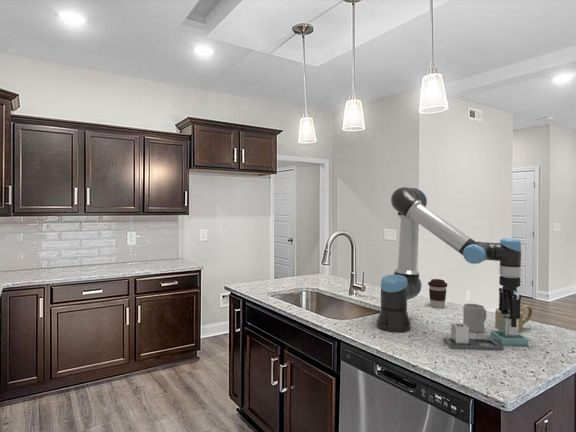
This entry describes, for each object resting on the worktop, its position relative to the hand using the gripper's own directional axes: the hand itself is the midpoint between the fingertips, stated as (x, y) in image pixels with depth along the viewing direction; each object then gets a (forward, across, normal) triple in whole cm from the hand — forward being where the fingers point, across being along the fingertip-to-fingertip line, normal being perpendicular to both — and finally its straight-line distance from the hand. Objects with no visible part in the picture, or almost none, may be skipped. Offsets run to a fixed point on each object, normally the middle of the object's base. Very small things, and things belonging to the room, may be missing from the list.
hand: (508, 331), depth 158 cm
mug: (+4, +15, +7) cm, 17 cm away
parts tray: (+4, 0, 0) cm, 4 cm away
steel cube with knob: (+2, 0, 0) cm, 2 cm away
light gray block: (+4, -6, +22) cm, 23 cm away
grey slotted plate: (+4, -6, +17) cm, 18 cm away
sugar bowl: (+4, +18, -10) cm, 21 cm away
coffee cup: (+4, +54, +12) cm, 55 cm away
